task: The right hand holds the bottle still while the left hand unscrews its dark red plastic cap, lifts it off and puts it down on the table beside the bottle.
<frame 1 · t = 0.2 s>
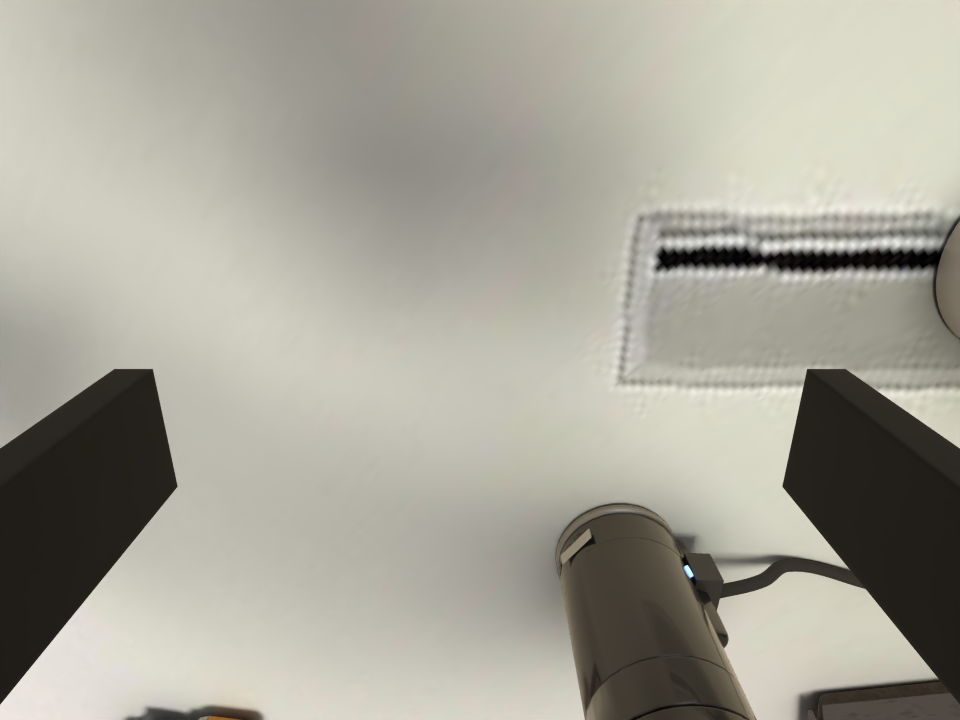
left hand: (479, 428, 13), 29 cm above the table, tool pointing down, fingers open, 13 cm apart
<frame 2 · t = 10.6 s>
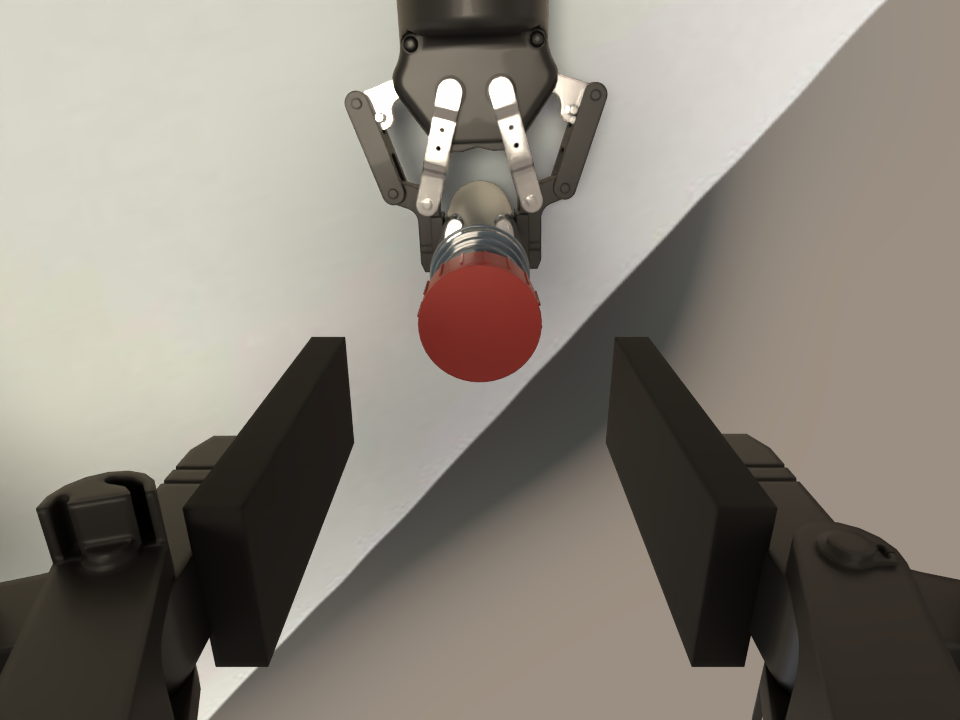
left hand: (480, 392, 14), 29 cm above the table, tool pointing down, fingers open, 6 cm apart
right hand: (482, 276, 36), fingers closed on bottle, 4 cm apart
cap: (479, 322, 19), point 23 cm above the table, screwed on, not yet turned
bottle: (480, 212, 41), on the table, touching right hand
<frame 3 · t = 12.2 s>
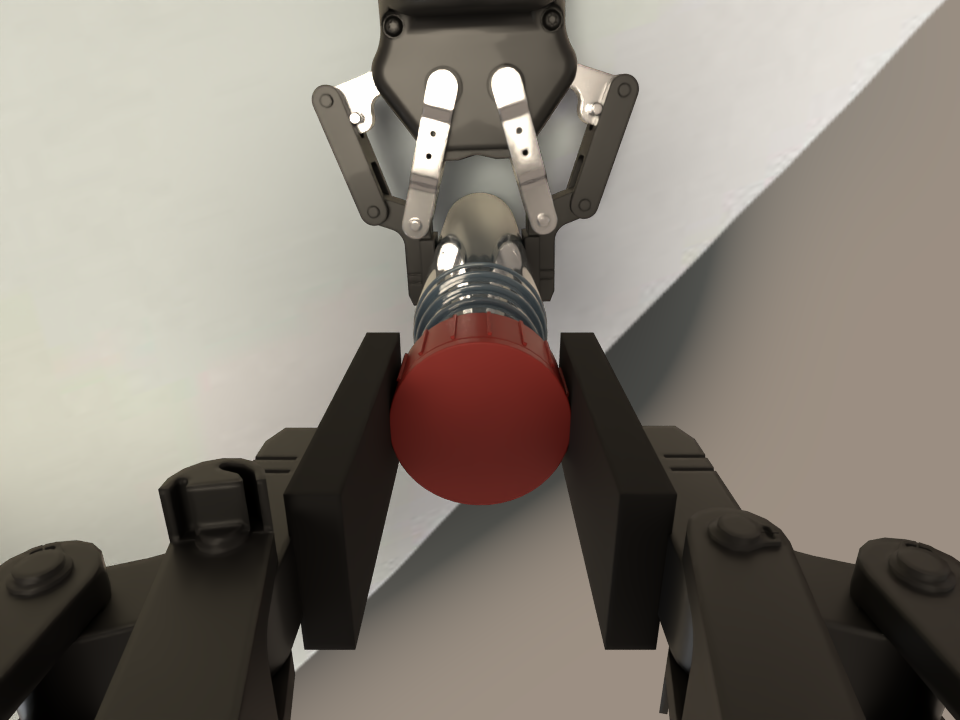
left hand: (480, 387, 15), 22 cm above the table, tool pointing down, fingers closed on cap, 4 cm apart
right hand: (482, 309, 30), fingers closed on bottle, 4 cm apart
cap: (480, 421, 13), point 23 cm above the table, screwed on, not yet turned, touching left hand
bottle: (480, 229, 35), on the table, touching right hand
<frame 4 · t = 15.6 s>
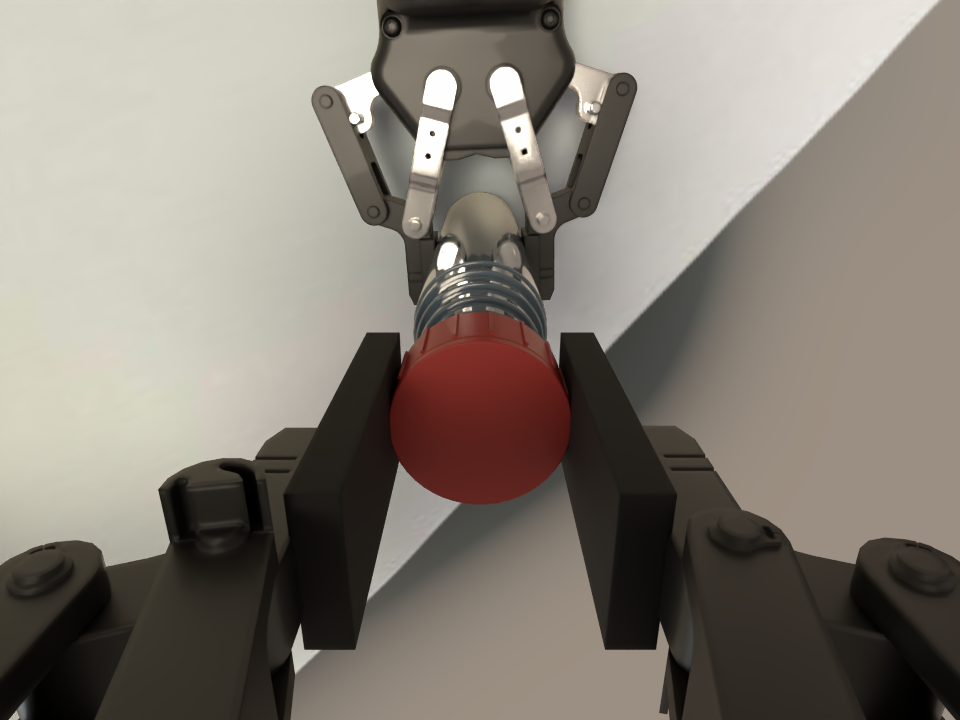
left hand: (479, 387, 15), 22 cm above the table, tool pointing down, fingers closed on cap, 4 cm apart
right hand: (483, 308, 30), fingers closed on bottle, 4 cm apart
cap: (480, 421, 13), point 24 cm above the table, turned 88° so far, risen 0.1 cm, still on its thread, touching left hand
bottle: (480, 228, 35), on the table, touching right hand
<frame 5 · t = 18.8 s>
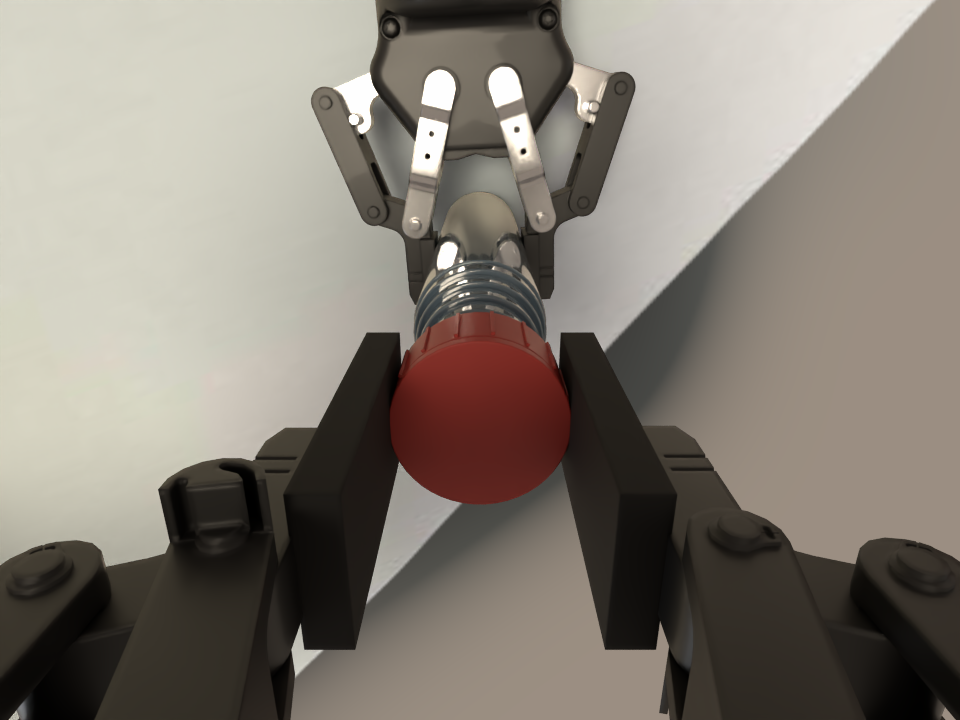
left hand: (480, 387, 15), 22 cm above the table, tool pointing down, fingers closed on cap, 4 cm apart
right hand: (483, 307, 30), fingers closed on bottle, 4 cm apart
cap: (480, 420, 13), point 24 cm above the table, turned 177° so far, risen 0.2 cm, still on its thread, touching left hand
bottle: (479, 228, 35), on the table, touching right hand
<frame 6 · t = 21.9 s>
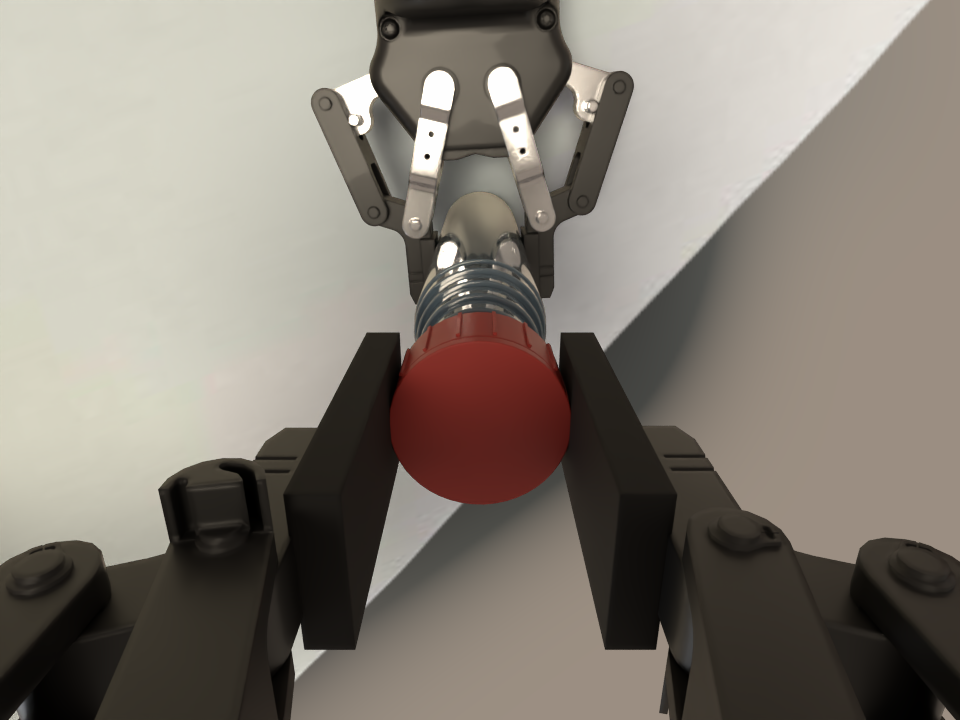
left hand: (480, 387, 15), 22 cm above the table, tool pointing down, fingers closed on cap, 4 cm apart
right hand: (483, 307, 30), fingers closed on bottle, 4 cm apart
cap: (480, 420, 13), point 24 cm above the table, turned 265° so far, risen 0.3 cm, still on its thread, touching left hand
bottle: (480, 228, 35), on the table, touching right hand
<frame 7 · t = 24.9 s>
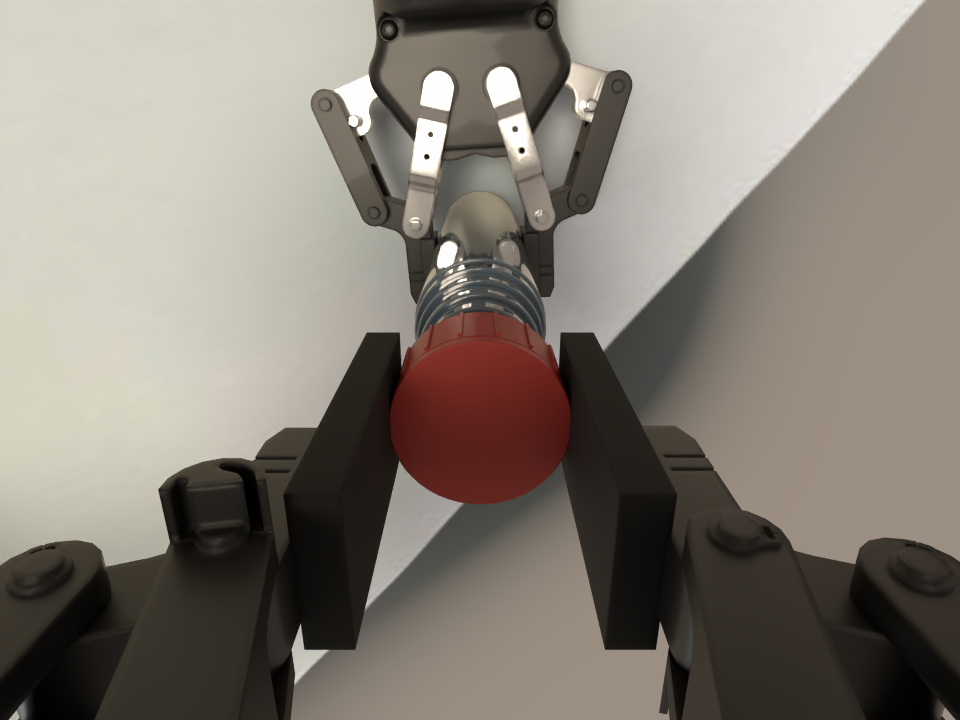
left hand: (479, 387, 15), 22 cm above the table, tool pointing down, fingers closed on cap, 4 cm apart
right hand: (484, 306, 30), fingers closed on bottle, 4 cm apart
cap: (480, 420, 13), point 24 cm above the table, turned 354° so far, risen 0.4 cm, still on its thread, touching left hand
bottle: (480, 227, 35), on the table, touching right hand
when the left hand's fingers open (1 cm above the table, at t = 34.8 s): cap drops 2 cm, point 2 cm above the table.
when the right hand's fingers open (6 cm above the table, at t = 36.0 s): bottle stays where it is, on the table.
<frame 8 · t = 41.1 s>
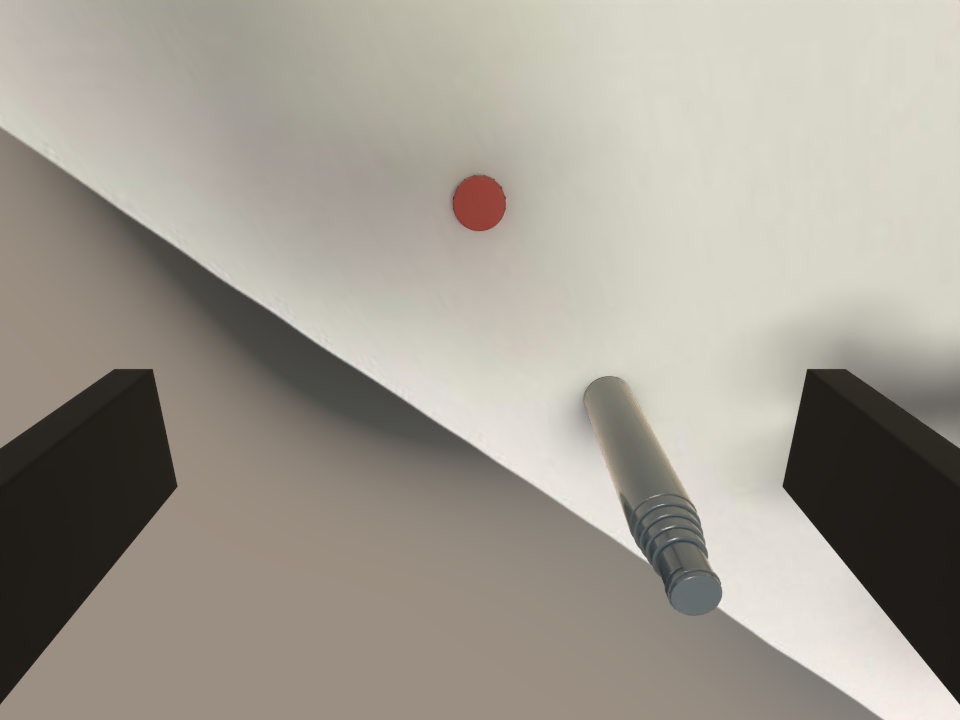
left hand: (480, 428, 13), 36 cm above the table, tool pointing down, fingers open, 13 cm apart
cap: (479, 204, 45), point 2 cm above the table, off its thread
bottle: (607, 398, 53), on the table
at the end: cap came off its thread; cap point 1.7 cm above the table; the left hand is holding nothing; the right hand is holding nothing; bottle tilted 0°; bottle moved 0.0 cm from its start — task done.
